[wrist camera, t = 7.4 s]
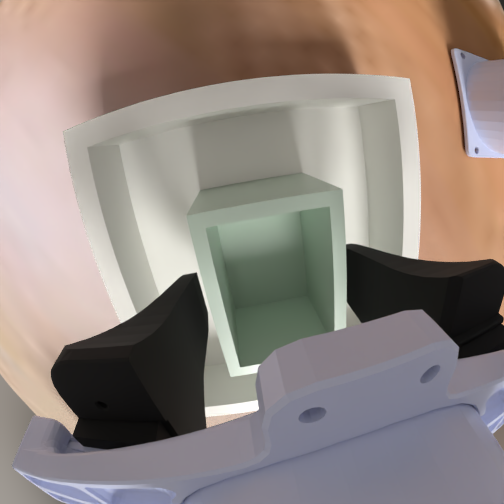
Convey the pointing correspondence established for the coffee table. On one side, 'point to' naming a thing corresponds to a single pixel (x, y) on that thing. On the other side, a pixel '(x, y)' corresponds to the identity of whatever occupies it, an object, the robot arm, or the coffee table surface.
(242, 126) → the white shallow tray
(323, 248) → the small crate
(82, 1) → the coffee table surface
